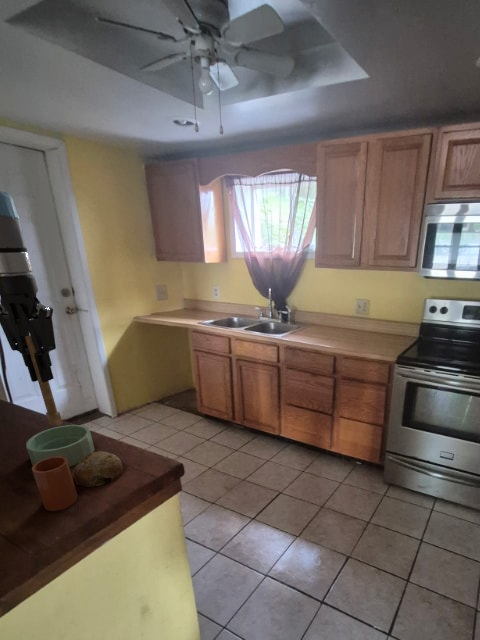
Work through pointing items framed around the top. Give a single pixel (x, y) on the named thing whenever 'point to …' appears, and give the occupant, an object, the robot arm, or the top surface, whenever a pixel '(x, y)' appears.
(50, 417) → the stirring stick
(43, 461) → the crock
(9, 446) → the top surface
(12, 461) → the top surface
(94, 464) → the bread roll
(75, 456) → the bowl
